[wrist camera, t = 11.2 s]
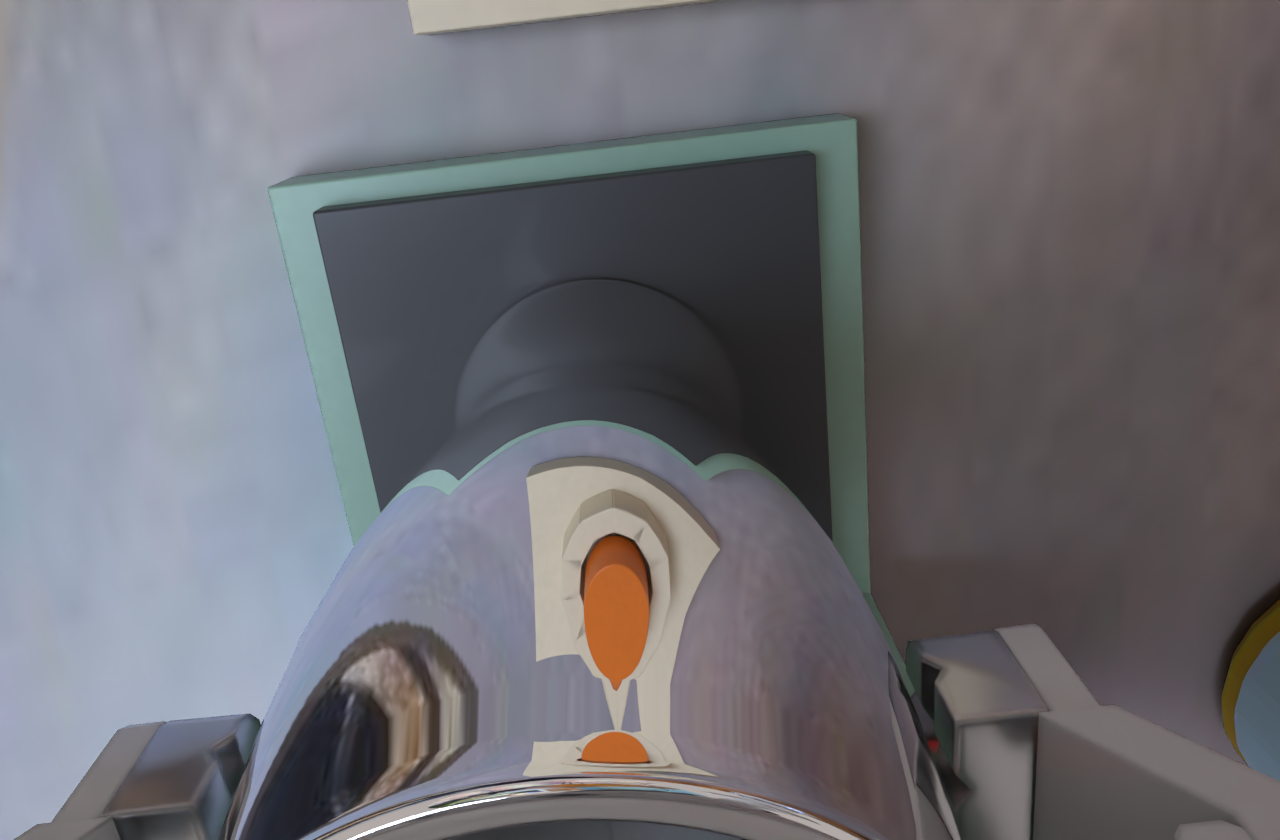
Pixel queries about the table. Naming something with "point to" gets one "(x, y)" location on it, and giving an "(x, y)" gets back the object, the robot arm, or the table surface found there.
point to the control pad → (516, 12)
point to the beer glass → (593, 622)
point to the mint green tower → (594, 249)
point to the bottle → (1256, 695)
